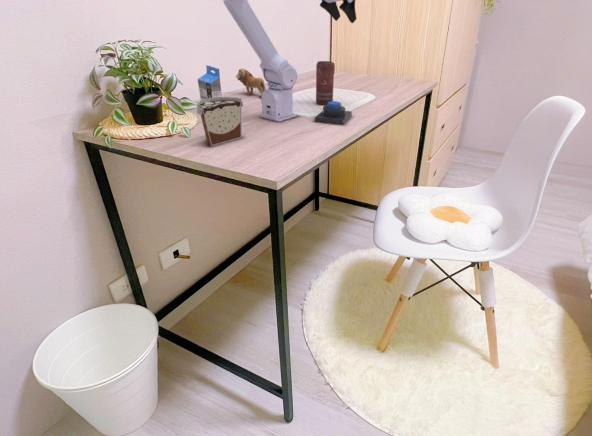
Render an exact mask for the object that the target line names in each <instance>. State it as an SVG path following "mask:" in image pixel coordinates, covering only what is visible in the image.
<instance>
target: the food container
mask: <svg viewBox="0 0 592 436" xmlns="http://www.w3.org/2000/svg"><path fill="white" fill-rule="evenodd" d="M196 107H197V108H196V113H197V114H198V115H199V116H200V118H201V122H202V127H203V131H204V135H205V139H206V143H207V145H208V146H210V147H214V146H217V145H221V144H225V143H228V142H232V141H236V140H239V139H242V135H243V134H242V108H243V107H244V103H243V100H242V98H240V97H233V96H222V97H215V98H208V99H204V100H201V99H200V100H199V101H198V102H197V106H196Z"/></svg>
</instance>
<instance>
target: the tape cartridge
mask: <svg viewBox="0 0 592 436" xmlns="http://www.w3.org/2000/svg"><path fill="white" fill-rule="evenodd" d="M205 67H206V73H204V74H203V75H201V76H200V77H199V78H197V84H198V90H199V99H200V101H201V100H204V99H208V98H215V97H223V96H222V85H221V75H220V68H218V67H214V66H211V65H208V64H206V65H205Z"/></svg>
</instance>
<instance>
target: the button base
mask: <svg viewBox="0 0 592 436" xmlns="http://www.w3.org/2000/svg"><path fill="white" fill-rule="evenodd" d="M352 114H353V113H352V111H349V110H346V107H345V106H342V105H341V109H339V110H331V109H328V105H323V107H322V111H320V112H319V113H318V114H317V115H315V116H314V122H315V123H321V124H330V125H338V126H344V125H345V124H346V123H347V122H348V121H349V119H350V118H351V117H352Z"/></svg>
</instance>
